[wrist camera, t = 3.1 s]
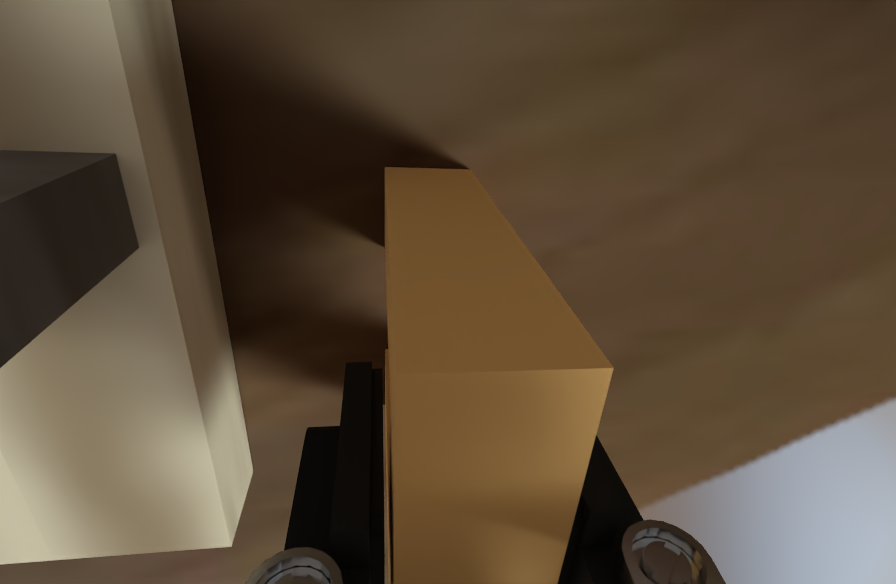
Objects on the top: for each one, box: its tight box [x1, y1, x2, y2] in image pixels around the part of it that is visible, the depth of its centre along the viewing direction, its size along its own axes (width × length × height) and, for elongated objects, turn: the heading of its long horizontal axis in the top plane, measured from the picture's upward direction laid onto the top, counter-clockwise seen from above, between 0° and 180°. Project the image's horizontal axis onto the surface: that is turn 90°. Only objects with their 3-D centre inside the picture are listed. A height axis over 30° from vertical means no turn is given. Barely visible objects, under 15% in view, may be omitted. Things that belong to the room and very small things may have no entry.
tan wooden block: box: [385, 167, 613, 584], centre depth 11 cm, size 2×8×9 cm, turn 177°
